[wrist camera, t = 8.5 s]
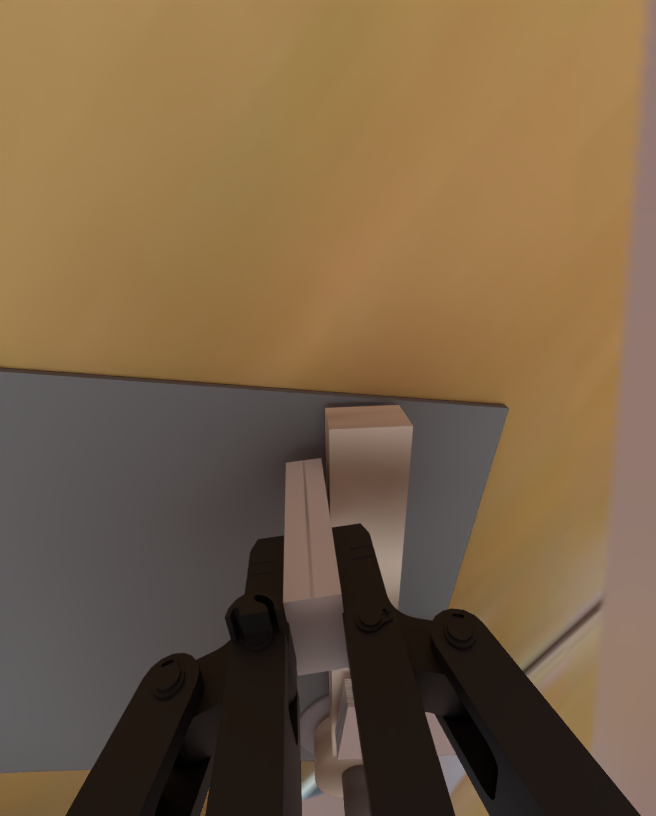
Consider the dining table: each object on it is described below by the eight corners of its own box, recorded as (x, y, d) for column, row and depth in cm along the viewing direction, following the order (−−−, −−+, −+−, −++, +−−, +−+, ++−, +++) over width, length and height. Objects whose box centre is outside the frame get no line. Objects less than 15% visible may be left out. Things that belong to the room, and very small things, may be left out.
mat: (400, 750, 27) (403, 762, 26) (-43, 766, 23) (-53, 781, 23) (504, 404, 17) (512, 410, 16) (-227, 351, 14) (-252, 356, 13)
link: (391, 753, 25) (408, 840, 21) (314, 761, 24) (318, 851, 21) (423, 403, 16) (463, 451, 12) (300, 409, 15) (301, 459, 11)
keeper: (429, 663, 23) (460, 754, 19) (329, 664, 23) (337, 759, 18) (444, 615, 22) (480, 703, 18) (337, 615, 21) (347, 707, 17)
